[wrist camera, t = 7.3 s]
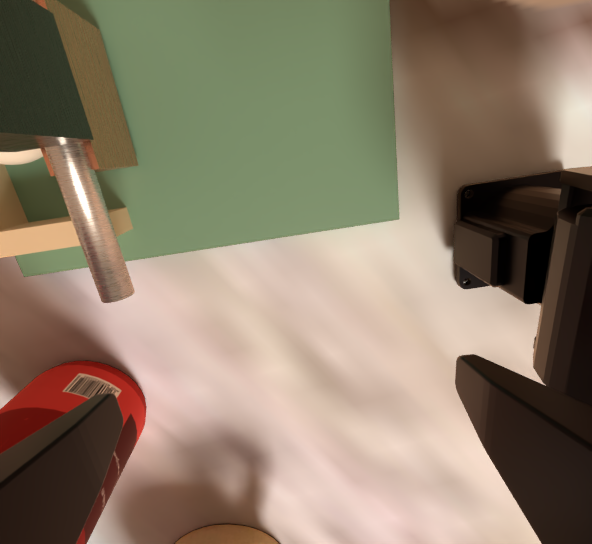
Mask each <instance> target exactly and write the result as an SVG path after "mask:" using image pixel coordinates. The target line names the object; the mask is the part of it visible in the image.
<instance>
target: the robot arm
mask: <svg viewBox="0 0 592 544" xmlns="http://www.w3.org/2000/svg"><path fill="white" fill-rule="evenodd" d="M467 190H470V195H469V196H468V197H465V192H466V191H467ZM454 263H456V282H457V284H458V286H460V287H461V288H463V289H471V288H478V287H485V286H492V287H499V288H501V289H502V290H504V291H506V292H507V293H509V294H510V295H512V296H514V297H515V298H517V299H519V300H520V301H522V302H524V303H525V304H534V303H537V304H539V305H541V311H540V317H539V323H538V329H537V335H536V337H535V339H534V345H533V348H534V354H533V368H534V369H535V371H536V372H537V374H538V375H539V377H540V378H541V380H542V382H543V383H544V384H545V385H546V386H545V385H543V384H540V383H538V382H536V381H534V380H531V379H529V378H527V377H525V376H522V375H520V374H518V373H516V372H513V371H511V370H509V369H507V368H504V367H502V366H500V365H498V364H495V363H493V362H491V361H489V360H486V359H484V358H482V357H480V356H477V355H474V354H471V355H462V356H459V357H458V358H457V361H456V378H455V385H456V389H457V392H458V394H459V397H460V399H461V401H462V403H463V405H464V407H465V409H466V411H467V413H468V416H469V418H470V420H471V422H472V424H473V426H474V428H475V430H476V433H477V435H478V437H479V439H480V441H481V443H482V445H483V447H484V448H485V450H486V452H487V454H488V455H489V457H490V459H491V460H492V462H493V464H494V465H495V467H496V469H497V470H498V472H499V474H500V475H501V477H502V479H503V480H504V482H505V484H506V485H507V487H508V489H509V490H510V492H511V494H512V495H513V497H514V499H515V500H516V502H517V503H518V505H519V507H520V508H521V510H522V512H523V513H524V515H525V517H526V518H527V520H528V522H529V523H530V525H531V527H532V528H533V530H534V532H535V533H536V535H537V537H538V538H539V540H540V541H541V543H542V544H592V166H590V167H580V168H570V169H562V170H558V171H551V172H545V173H538V174H532V175H525V176H519V177H512V178H506V179H500V180H493V181H487V182H480V183H474V184H467V185H464V186H462V187H461V188H460V189H459V190H458V194H457V221H456V222H455V224H454ZM466 278H468V281H467V282H466V283H463V281H464V280H465V279H466ZM123 421H124V420H123V415H122V412H121V409H120V406H119V404H118V401H117V398H116V396H115V395H114V394H113V393H102V394H96V395H94V396H93V397H91V398H89V399H88V400H86V401H85V402H83V403H81V404H80V405H78V406H77V407H75V408H73V409H72V410H70V411H69V412H67V413H65V414H64V415H62V416H61V417H59V418H57V419H56V420H54V421H53V422H51V423H49V424H48V425H46V426H44V427H43V428H41V429H40V430H38V431H36V432H35V433H33V434H32V435H30V436H28V437H27V438H25V439H24V440H22V441H20V442H19V443H17V444H16V445H14V446H12V447H11V448H9V449H8V450H6V451H4V452H3V453H1V454H0V544H76V543H77V541H78V539H79V537H80V534H81V532H82V530H83V528H84V526H85V523H86V521H87V519H88V517H89V515H90V512H91V510H92V508H93V506H94V503H95V501H96V499H97V497H98V494H99V492H100V490H101V487H102V485H103V482H104V480H105V477H106V474H107V471H108V469H109V466H110V463H111V460H112V457H113V454H114V451H115V448H116V445H117V442H118V439H119V437H120V434H121V431H122V428H123Z"/></svg>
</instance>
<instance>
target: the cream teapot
mask: <svg viewBox="0 0 592 544" xmlns="http://www.w3.org/2000/svg"><path fill="white" fill-rule="evenodd" d="M175 544H279V543H278V542H277V541H276V540H275V539H274V538H272V537H271V536H269V535H267V534H266V533H264V532H262V531H260V530H257V529H254V528H251V527H247V526H242V525H232V524H223V525H213V526H208V527H203V528H200V529H197V530H194V531H192V532H190V533H188V534H186V535H185V536H183V537H182V538H180V539H179V540H178V541H177V542H176V543H175Z"/></svg>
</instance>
